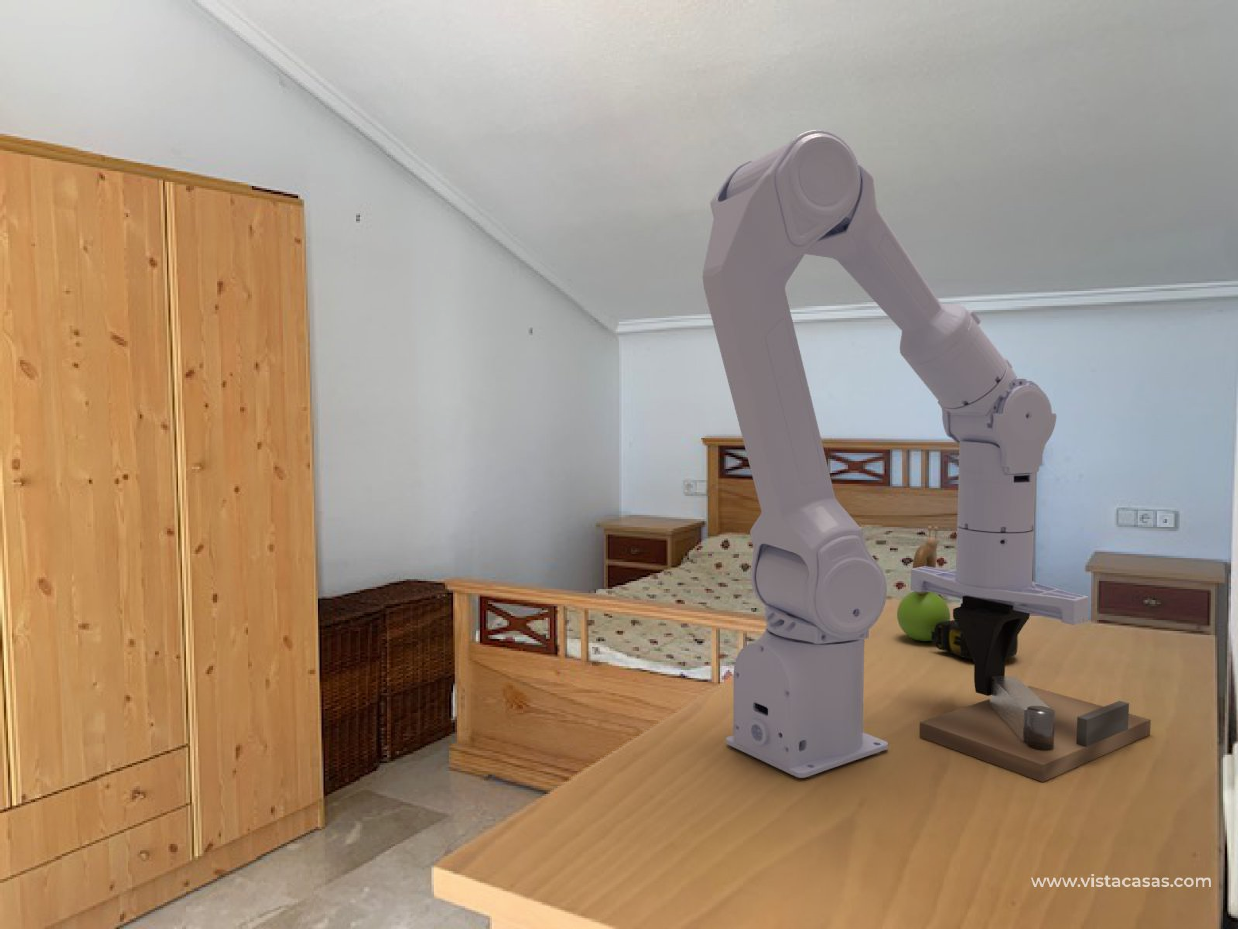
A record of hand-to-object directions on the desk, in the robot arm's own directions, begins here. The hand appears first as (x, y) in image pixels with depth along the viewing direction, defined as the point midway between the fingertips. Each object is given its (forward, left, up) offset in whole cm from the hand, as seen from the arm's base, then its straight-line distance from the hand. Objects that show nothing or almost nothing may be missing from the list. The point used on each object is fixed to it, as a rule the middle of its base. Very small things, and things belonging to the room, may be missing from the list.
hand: (990, 692), depth 74 cm
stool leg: (-3, -5, -1) cm, 5 cm away
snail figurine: (+16, +18, -2) cm, 24 cm away
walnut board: (-1, -4, -2) cm, 5 cm away
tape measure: (+15, +11, -3) cm, 19 cm away
